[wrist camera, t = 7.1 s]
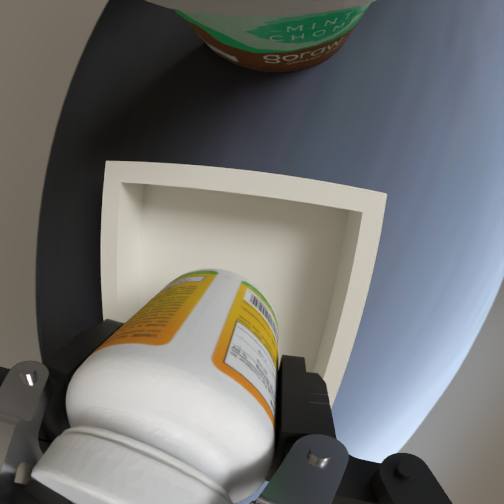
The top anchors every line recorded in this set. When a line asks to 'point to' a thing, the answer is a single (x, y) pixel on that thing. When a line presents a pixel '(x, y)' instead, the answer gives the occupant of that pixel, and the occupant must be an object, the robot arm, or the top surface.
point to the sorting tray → (245, 247)
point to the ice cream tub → (271, 29)
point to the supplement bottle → (174, 401)
